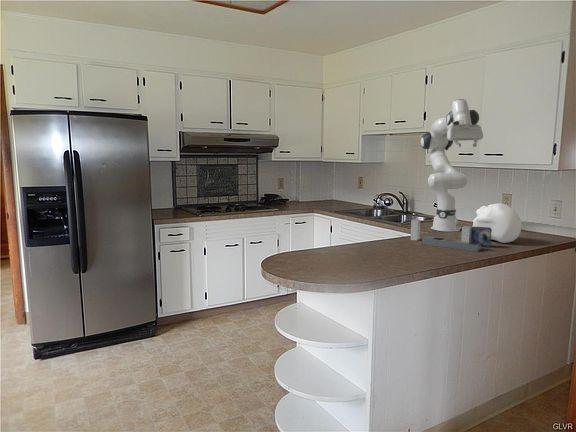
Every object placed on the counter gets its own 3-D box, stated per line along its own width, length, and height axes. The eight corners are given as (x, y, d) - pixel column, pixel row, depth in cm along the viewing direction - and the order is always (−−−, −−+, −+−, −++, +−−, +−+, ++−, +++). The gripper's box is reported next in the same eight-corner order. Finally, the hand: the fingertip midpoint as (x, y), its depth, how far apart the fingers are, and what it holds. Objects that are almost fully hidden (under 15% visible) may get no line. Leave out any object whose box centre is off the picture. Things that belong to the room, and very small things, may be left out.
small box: (469, 246, 231) (471, 228, 230) (468, 244, 238) (469, 226, 236) (490, 247, 228) (492, 229, 227) (488, 245, 234) (490, 227, 233)
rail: (426, 241, 243) (427, 221, 242) (481, 249, 225) (482, 227, 223) (421, 244, 238) (422, 223, 236) (477, 251, 219) (478, 229, 217)
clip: (413, 238, 253) (414, 219, 251) (419, 239, 250) (420, 219, 249) (410, 239, 250) (411, 220, 248) (416, 240, 247) (417, 220, 246)
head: (473, 223, 269) (502, 191, 252) (504, 256, 254) (536, 224, 236) (454, 226, 259) (482, 193, 241) (485, 260, 243) (517, 227, 225)
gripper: (477, 127, 246) (481, 148, 242) (444, 127, 244) (447, 149, 241) (483, 122, 240) (487, 144, 236) (449, 122, 238) (452, 144, 235)
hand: (467, 146), depth 238 cm, fingers open, 8 cm apart
